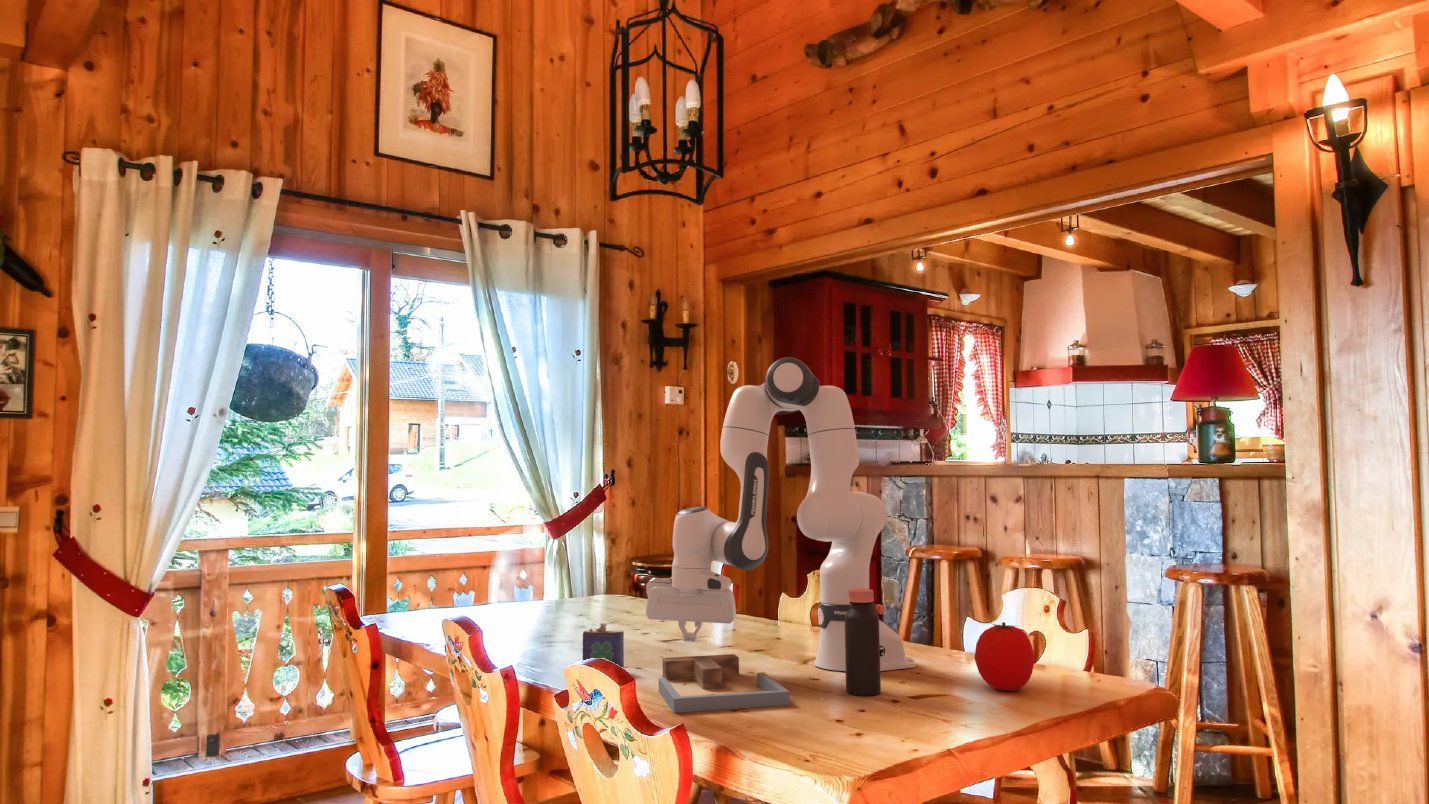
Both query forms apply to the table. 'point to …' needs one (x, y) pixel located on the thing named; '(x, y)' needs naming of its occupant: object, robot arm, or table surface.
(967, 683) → the table surface
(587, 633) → the flask
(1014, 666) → the tomato
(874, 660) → the bottle
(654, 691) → the table surface
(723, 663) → the t block
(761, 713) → the table surface
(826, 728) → the table surface
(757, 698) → the corral
